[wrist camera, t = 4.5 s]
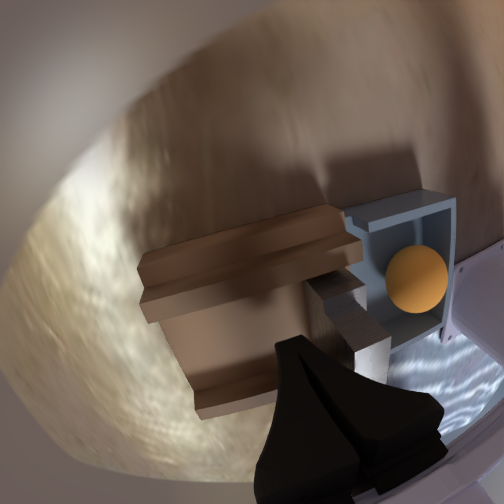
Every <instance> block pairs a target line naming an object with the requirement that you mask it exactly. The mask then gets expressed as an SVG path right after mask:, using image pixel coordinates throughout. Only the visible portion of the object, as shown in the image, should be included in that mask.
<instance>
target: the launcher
mask: <svg viewBox="0 0 504 504" xmlns="http://www.w3.org/2000/svg"><path fill="white" fill-rule="evenodd" d="M361 261H364V258H363V244H362V240H361V239H359V238H358V237H356V236H354V235H352V234H351V233H349V232H347V231H346V224H345V216H344V211H342V210H340V209H338V208H335V207H333V206H330V205H328V204H323V205H319V206H315V207H311V208H307V209H304V210H300V211H296V212H292V213H288V214H284V215H280V216H276V217H273V218H269V219H265V220H261V221H258V222H254V223H250V224H246V225H243V226H239V227H235V228H232V229H228V230H225V231H221V232H217V233H214V234H210V235H207V236H203V237H200V238H196V239H193V240H189V241H186V242H182V243H179V244H175V245H172V246H168V247H165V248H162V249H158V250H155V251H152V252H148V253H145V254H144V255H143V257H142V259H141V261H140V263H139V265H138V267H137V271H138V273H139V276H140V278H141V281H142V283H143V286H144V291H143V294H142V297H141V300H140V303H139V305H140V307H141V310H142V312H143V314H144V316H145V318H146V321H147V323H148V324H149V323H153V322H157V321H159V323H160V325H161V327H162V330H163V332H164V334H165V336H166V338H167V340H168V342H169V344H170V346H171V348H172V350H173V352H174V354H175V356H176V358H177V360H178V362H179V364H180V366H181V368H182V370H183V372H184V374H185V376H186V378H187V380H188V382H189V383H190V385H191V387H192V389H193V391H194V404H195V411H196V413H197V415H198V416H199V418H200V419H201V420H205V419H210V418H214V417H219V416H223V415H228V414H232V413H236V412H240V411H244V410H248V409H251V408H255V407H259V406H262V405H266V404H269V403H273V402H276V400H277V392H278V359H277V355H276V351H275V347H274V345H275V343H276V342H279V341H283V340H286V339H289V338H292V337H295V336H298V335H301V334H302V335H304V336H305V337H306V338H307V339H308V340H309V341H310V342H312V339H311V332H310V325H309V318H308V311H307V305H306V299H305V292H304V286H303V280H306V279H309V278H312V277H316V276H319V275H322V274H325V273H328V272H331V271H334V270H337V269H340V268H343V267H345V268H346V269H347V270H349V271H350V265H352V264H355V263H358V262H361Z"/></svg>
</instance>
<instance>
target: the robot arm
mask: <svg viewBox="0 0 504 504" xmlns="http://www.w3.org/2000/svg"><path fill="white" fill-rule="evenodd" d="M461 333H462V334H463V335H465V336H466V337H467V338H468V339H469V340H471V341H472V342H473V343H474V344H476V345H477V346H478V347H479V348H480V349H482V350H483V351H484V352H485V353H486V354H487V355H489V356H490V357H491V358H492V359H493V360H494V361H496V362H497V363H498V364H499V365H500V366H501V367H503V368H504V239H502V240H501V241H499V242H497V243H495V244H494V245H492V246H490V247H488V248H486V249H485V250H483V251H481V252H479V253H477V254H475V255H473V256H472V257H470V258H468V259H466V260H464V261H462V262H460V263H458V264H456V265H454V270H453V279H452V288H451V295H450V302H449V308H448V314H447V320H446V325H445V326H443V330H442V335H441V340H440V342H441V343H442V344H446V343H447V342H449V341H450V340H452V339H453V338H455V337H457V336H458V335H460V334H461ZM274 347H275V351H276V355H277V359H278V392H277V400H276V406H275V412H274V416H273V421H272V424H271V428H270V431H269V434H268V437H267V440H266V443H265V446H264V448H263V451H262V453H261V455H260V457H259V460H258V462H257V464H256V470H255V477H254V494H255V498H256V501H257V504H495V503H494V502H493V501H492V499H491V498H490V497H489V495H488V494H487V493H486V491H485V490H484V488H483V487H482V486H481V484H480V483H479V481H480V480H481V479H483V478H484V477H485V476H486V475H487V474H488V473H489V472H490V471H491V470H493V469H494V468H495V467H496V466H497V465H498V464H499V463H500V462H501V461H502V460H503V459H504V398H503V399H502V400H501V401H500V402H498V403H497V405H495V406H494V407H493V408H492V409H491V410H490V411H489V412H488V413H486V414H485V415H484V416H483V417H482V418H481V419H480V420H478V421H477V422H476V423H475V424H474V425H472V426H471V427H470V428H469V429H467V430H466V431H465V432H464V433H463V434H461V435H460V436H458V437H457V438H456V439H454V440H453V441H452V442H450V443H449V444H448V445H446V446H445V445H444V444H443V442H442V441H441V440H440V438H441V434H440V433H439V432H438V430H437V429H438V427H439V425H440V423H441V421H442V418H443V415H444V408H443V407H442V406H441V405H440V404H439V402H438V401H437V400H436V399H435V398H433V397H432V396H431V395H430V394H429V393H423V392H416V391H409V390H404V389H400V388H396V387H392V386H389V385H386V384H383V383H380V382H377V381H374V380H372V379H369V378H367V377H365V376H363V375H360V374H358V373H356V372H354V371H353V370H351V369H349V368H347V367H345V366H344V365H342V364H340V363H339V362H337V361H336V360H334V359H333V358H331V357H330V356H329V355H327V354H326V353H324V352H323V351H322V350H320V349H319V348H318V347H317V346H315V345H314V344H313V343H312V342H310V341H309V340H308V339H307V338H306V337H305V336H304V335H302V334H301V335H298V336H295V337H292V338H289V339H286V340H283V341H279V342H276V343H275V345H274ZM351 494H352V496H351ZM352 497H353V498H352Z"/></svg>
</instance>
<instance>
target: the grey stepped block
mask: <svg viewBox="0 0 504 504" xmlns="http://www.w3.org/2000/svg"><path fill="white" fill-rule="evenodd" d="M303 286H304V292H305V299H306V305H307V311H308V318H309V325H310V332H311V339H312V343H313V344H314V345H315V346H317V347H318V348H319V349H320V350H322V351H323V352H324V353H326V354H327V355H329V356H330V357H331V358H333V359H334V360H336V361H337V362H339V363H340V364H342V365H344V366H345V367H347V368H349V369H351V370H353V371H354V372H356V373H358V374H360V375H363V376H365V377H367V378H369V379H372V380H374V381H377V382H380V383H383V384H386V383H387V375H388V367H389V359H390V349H391V338H392V336H391V335H390V334H389V333H388V332H387V331H386V330H385V329H384V328H383V327H382V326H381V325H380V324H379V323H378V322H377V321H376V320H375V319H374V318H373V317H372V316H371V315H370V314H369V313H368V312H367V297H366V284H364V283H363V282H362V281H361V280H359V279H358V278H357V277H356V276H355V275H353V274H352V273H351V272H350V271H349V270H347V269H346V268H345V267H343V268H340V269H337V270H334V271H331V272H328V273H325V274H322V275H319V276H316V277H312V278H309V279H306V280H303Z"/></svg>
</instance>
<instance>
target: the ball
mask: <svg viewBox="0 0 504 504" xmlns="http://www.w3.org/2000/svg"><path fill="white" fill-rule="evenodd" d="M447 284H448V272H447V268H446V265H445V262H444V261H443V259H442V257H441V256H440V255H439V254H438V253H437V252H436V251H435V250H433V249H431V248H430V247H427V246H423V245H412V246H408V247H405V248H403V249H402V250H400V251H399V252H398V253H396V254H395V255H394V257H393V258H392V259H391V261H390V263H389V265H388V267H387V270H386V275H385V285H386V290H387V293H388V295H389V297H390V299H391V300H392V302H393V303H394V304H395V305H396V306H397V307H399V308H400V309H402V310H404V311H406V312H410V313H422V312H425V311H428V310H430V309H431V308H433V307H434V306H436V305H437V304H438V303H439V302H440V300H441V299H442V298H443V296H444V294H445V292H446V288H447Z"/></svg>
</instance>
